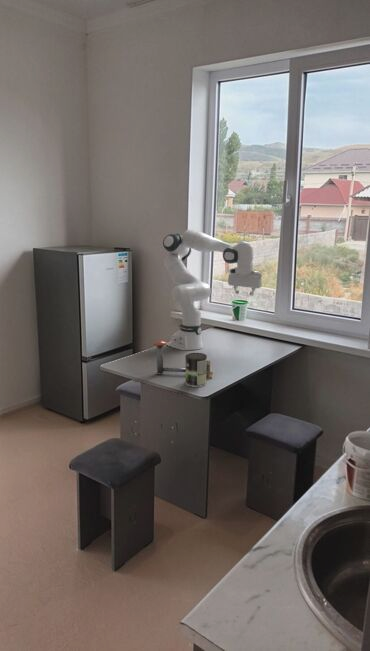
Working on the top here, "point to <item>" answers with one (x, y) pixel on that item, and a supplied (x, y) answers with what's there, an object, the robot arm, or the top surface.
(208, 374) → the eye post
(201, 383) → the coffee can
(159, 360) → the hook rod
